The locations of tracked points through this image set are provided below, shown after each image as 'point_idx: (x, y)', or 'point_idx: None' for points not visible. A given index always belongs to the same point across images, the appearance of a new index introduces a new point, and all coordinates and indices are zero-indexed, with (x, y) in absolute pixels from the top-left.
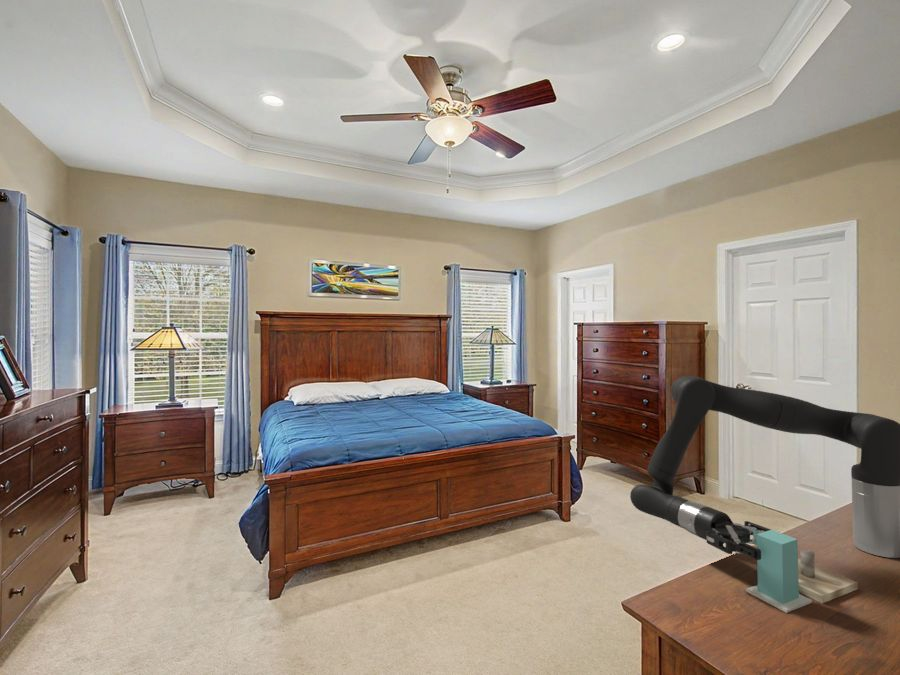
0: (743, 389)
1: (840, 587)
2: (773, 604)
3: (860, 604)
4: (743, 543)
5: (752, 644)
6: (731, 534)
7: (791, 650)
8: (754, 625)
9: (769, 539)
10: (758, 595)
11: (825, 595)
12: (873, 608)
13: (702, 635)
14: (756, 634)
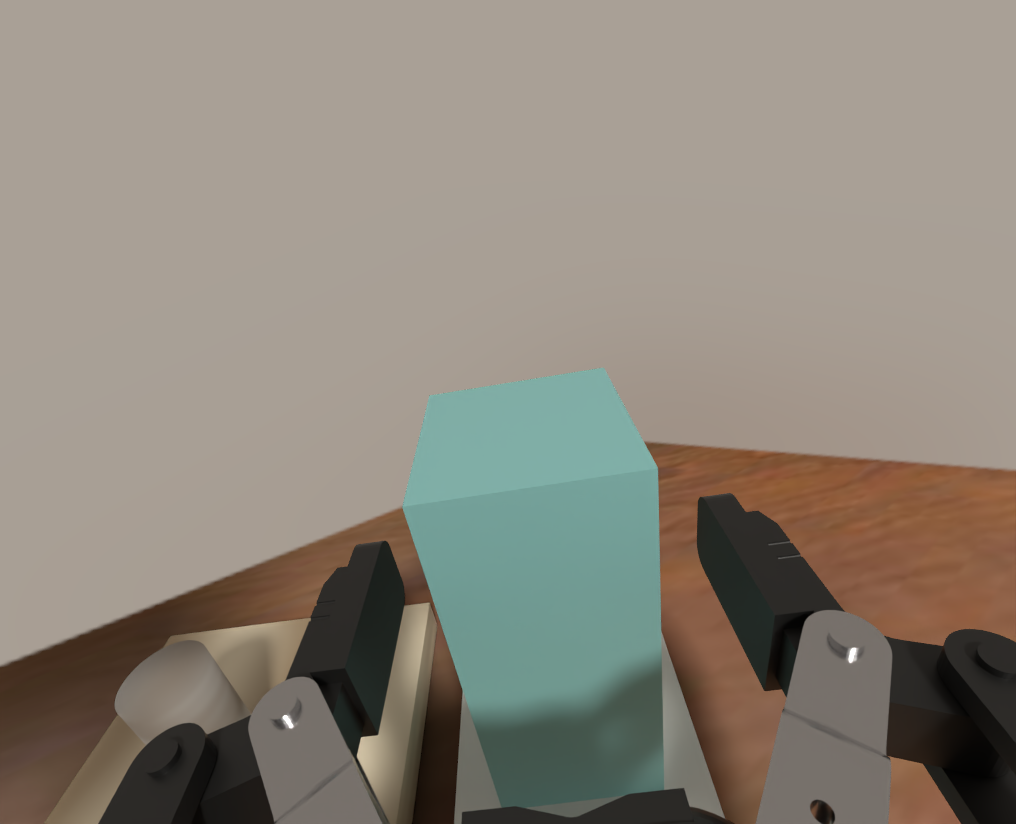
0: None
1: (281, 626)
2: (672, 664)
3: (316, 595)
4: (792, 592)
5: (942, 529)
6: (879, 766)
7: (799, 493)
8: (871, 600)
9: (623, 406)
10: (698, 749)
11: (405, 608)
12: (314, 571)
13: None
14: (893, 561)
